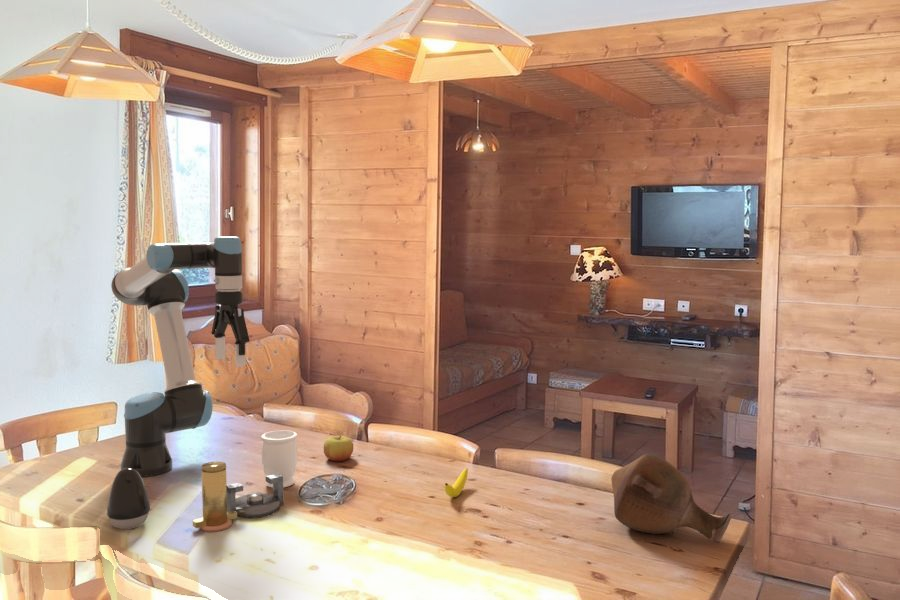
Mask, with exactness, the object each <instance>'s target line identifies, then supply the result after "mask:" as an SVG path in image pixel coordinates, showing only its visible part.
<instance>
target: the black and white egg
mask: <svg viewBox="0 0 900 600" xmlns="http://www.w3.org/2000/svg"><path fill="white" fill-rule="evenodd" d="M150 510H151V502H150V499H149V494H148V491H147V487H146V485H145V482H144V480H143V477H141V476H140V474H139V473H138V472H137V471H136V470H135V469H133V468H124V469H122V470H121V469H120V470H119V471H118V472H117V473H116V475H115V477H114V478H113V481H112V484H111V487H110V491H109V495H108V499H107V508H106V515H107V517H108V519H109V521H110V523H111V524H112V525H113V527H115V528H117V529H121V530H132V529H135V528H138V527H140V526H141V525H143V524H144V523H145V522H146V520H147V518H148V516H149V513H150V512H151V511H150Z"/></svg>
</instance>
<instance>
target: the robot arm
mask: <svg viewBox="0 0 900 600" xmlns="http://www.w3.org/2000/svg"><path fill="white" fill-rule="evenodd" d="M242 252H243V249H242V240H241V238H240V237H239V236H216V237H214V240H213V241H203V242H168V243H167V242H160V243H152V244H150V245H149V246H148V248H147V250H146V255H145V257H143V258H142V259H141V260H140V261H139V262H137V263H135V264H134V265H132V266H131V267H127V268H123V269H121V270H120V271H118V272H117V273H116V274H114V276H113V278H112V280H111V291H112V294H113V295H114V297H115V298H116V299H117V300H118V301H120V302H121V303H123V304H125V305H130V306H135V307H137V306H147V312H148V313H149V314H151V315H153V317H154V322H155V325H156V326H155V328H156V333H157V336H158V341H159V347H160V351H161V352H160V353H161V357H162V363H163V366H164V367H163V368H164V372H165V376H166V378H165V379H166V381H167V387H166V388H165V390H164V392H157V391H156V392H147V393H141V394H137V395H135V396H133V397H131V398H129V399H128V400H127V401H126V402H125V404H124V414H123V418H124V428H125V429H124V433H125V449H124V452H123V455H122V459H121V462H120V470H122V469H124V468H133V469H135V470H136V471H137V472H138V473H139V474H140V476H141V477H142V478H143V477H153V476H156V475H157V476H158V475H162V474H164V473H167V472H169V471H170V470H172V468H173V458H172V455H171V453H170V450H169V448H168V446H167V441H166V434H170V433H174V432H175V433H176V432H180V431H185V430H191V429H192V430H194V429H196V428H200V427H204V426H206V425H207V424H208V423H209V422H210V420H211V418H212V414H213V405H214V404H213V399H212V394H211V393H210V391H208V390H206V389H203V386H202V383H201V382H199V381H197V380H196V377H195V372H194V366H193V362H192V361H193V360H192V356H191V352H190V346H189V342H188V336H187V332H186V328H185V323H184V317H183V313H182V310H183V309H184V308H185V306H186V302H187V301H188V299H189V295H190V294H189V291H190V289H189V284H188V280H187V277H186V276H185V275H184V274H183V272H181V271H180V270H185V269H186V270H189V269H210V268H211V269H214V279H213V282H214V284H215V285H214V287H215V289H216V291H215V293H214V295H215V296H214V297H215V298H214V299H215V307H214V308H215V312H214V318H213V322H212V328H211V334H212V335H213V336H214V338H215V340H214V341H215V360H216V361H219V360H226V358H227V357H226V356H227V355H226V333H225V332H226V330H227V328H228V326H230V328H231V331H232V333H233V337H234V338H235V342H234V346H235V347H234V349H235V350H234V351H235V353H234V354H235V367H236V368H238V367H239V368H240V367H241V368H242V367H246V363H247V359H246V357H247V355H246V354H247V353H246V344H247V343H249V342H250V335H249V333H248V328H247V323H246V320H245V311H244V308H239V306H238V305H240V304H242V303H243V291H242V289H243V274H242V273H243V272H242V271H243V264H242V263H243V261H242V260H243V257H242V256H243V255H242V254H243V253H242Z"/></svg>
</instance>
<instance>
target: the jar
mask: <svg viewBox="0 0 900 600" xmlns="http://www.w3.org/2000/svg"><path fill="white" fill-rule="evenodd" d="M297 437H298V432H295V431H293V430H287V429H286V430H272V431H267V432H264V433H263V434H261V440H262V447H261V462H262V466H263V472H264V476H265V477H266V476H268V475H273V474H277V473H278V474H280V475H282V476H283V489H285V488H287V487H290V486H292V485H294V484H295V479H294V476H295V473H296V470H297V463H298V444H297V440H296V439H297ZM265 485H266V486H267V487H269V488H272V489H273V484H269V483H268V482H266V481H265Z"/></svg>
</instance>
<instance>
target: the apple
mask: <svg viewBox="0 0 900 600" xmlns="http://www.w3.org/2000/svg"><path fill="white" fill-rule="evenodd" d="M323 453H324V455H325V458H326V459H328V460H330V461H332V462H345V461H347V460H348V459H350V457H351V456H352V455H353V453H354V443H353V441H352V440H351V438H350V437H347V436H345V435H333V436H330V437H328V438H326V440H325V441H324V443H323Z"/></svg>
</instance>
